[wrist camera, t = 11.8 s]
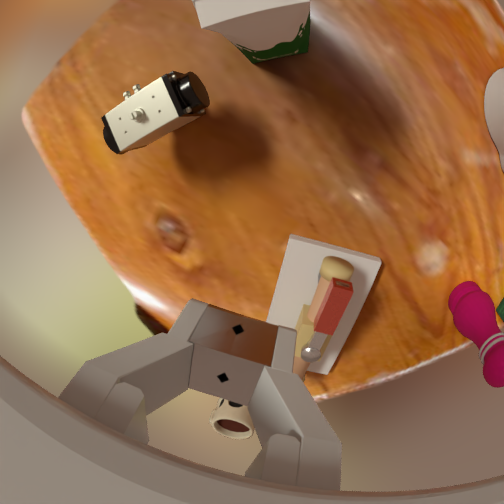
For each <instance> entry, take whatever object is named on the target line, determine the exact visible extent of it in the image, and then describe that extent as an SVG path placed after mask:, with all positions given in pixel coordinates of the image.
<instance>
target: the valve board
mask: <svg viewBox="0 0 504 504" xmlns="http://www.w3.org/2000/svg"><path fill="white" fill-rule="evenodd" d="M381 263H382V262H381V260H380V258H379V257H375V256H372V255H368V254H365V253H361V252H357V251H354V250H350V249H346V248H343V247H339V246H335V245H331V244H328V243H324V242H320V241H316V240H312V239H309V238H305V237H301V236H297V235H293V234H290V237H289V241H288V244H287V248H286V252H285V256H284V259H283V263H282V267H281V270H280V274H279V278H278V281H277V285H276V288H275V292H274V296H273V299H272V303H271V306H270V310H269V313H268V317H267V320H266V322H268V323H272V324H275V325H281V326H285V327H289V328H293V329H296V330H297V338H296V348H295V357H294V366H293V373H295V374H298V375H299V377H300V378H301V380H302V381H303V382H304V380H305V373H306V371H311V372H316V373H321V374H326V375H327V374H328V373H329V371H330V369H331V367H332V365H333V364H334V362H335V360H336V358H337V356H338V354H339V352H340V351H341V349H342V347H343V345H344V343H345V341H346V339H347V337H348V335H349V333H350V331H351V329H352V327H353V325H354V323H355V321H356V319H357V317H358V315H359V313H360V311H361V308H362V306H363V304H364V302H365V300H366V298H367V295H368V293H369V291H370V289H371V287H372V284H373V282H374V280H375V277H376V275H377V273H378V270H379V268H380V266H381ZM332 277H334V278H338V279H342V280H345V281H349V282H352V286H353V291H354V292H353V295H352V297H351V299H350V301H349V303H348V305H347V307H346V309H345V311H344V314H343V316H342V318H341V320H340V322H339V324H338V326H337V328H336V330H335V332H334V334H333V336H332V335H327V337H326V339H325V341H324V343H323V345H322V347H321V357H320V359H319V360H318V361H316V362H306V361H304V360H303V359H302V358H301V348H302V347H303V346H304V345H305V344H308V343H309V340H310V338H311V336H312V334H313V332H314V319H315V317H316V315H317V312H318V310H319V308H320V305H321V303H322V301H323V298H324V296H325V294H326V291H327V289H328V286H329V284H330V282H331V279H332Z"/></svg>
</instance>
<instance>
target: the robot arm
mask: <svg viewBox="0 0 504 504" xmlns="http://www.w3.org/2000/svg"><path fill="white" fill-rule="evenodd" d="M484 109H485V117H486V122H487V126H488V129H489V132H490V135H491V137H492V139H493V141H494V143H495V145H496V147H497V149H498V152H499V155H500V162H501V167H502V170H503V172H504V68H502V69H499V70H497V71H496V72H495V73H494V74H493V75H492V76H491V78H490V79H489V81H488V84H487V86H486V90H485V97H484ZM296 338H297V330H296V329H293V328H289V327H285V326H281V325H275V324H272V323H268V322H265V321H261V320H258V319H254V318H251V317H247V316H244V315H241V314H238V313H235V312H232V311H229V310H226V309H223V308H220V307H217V306H214V305H211V304H208V303H205V302H202V301H199V300H196V299H193V298H192V299H190V300H189V301H188V302H187V304H186V306H185V307H184V309H183V310H182V312H181V313H180V315H179V317H178V318H177V320H176V321H175V323H174V325H173V326H172V328H171V329H170V331H169V333H168V334H165V333H160V334H157V335H155V336H152V337H150V338H147V339H145V340H142V341H139V342H137V343H134V344H132V345H129V346H126V347H124V348H121V349H118V350H116V351H113V352H110V353H108V354H105V355H102V356H100V357H97V358H94V359H91V360H89V361H86V362H85V363H84V365H83V366H82V367H81V368H80V370H79V371H78V372H77V374H76V375H75V376H74V377H73V379H72V380H71V381H70V383H69V384H68V385H67V386H66V388H65V389H64V390H63V392H62V393H61V394H60V396H59V397H58V398H57V397H56V396H54V395H53V394H51V393H50V392H48V391H47V390H45V389H44V388H42V387H41V386H39V385H38V384H37V383H35V382H34V381H32V380H31V379H29V378H28V377H26V376H25V375H24V374H23V373H21V372H20V371H19V370H18V369H16V368H15V367H14V366H12V365H11V364H10V363H9V362H7V361H6V360H5V359H3V358H2V357H1V356H0V504H504V475H501V476H498V477H494V478H490V479H485V480H481V481H476V482H472V483H466V484H460V485H454V486H448V487H441V488H432V489H423V490H411V491H391V492H390V491H389V492H361V491H340V482H341V454H342V443H341V442H340V440H339V438H338V437H337V435H336V434H335V432H334V431H333V429H332V427H331V426H330V424H329V423H328V421H327V420H326V418H325V416H324V415H323V413H322V412H321V410H320V409H319V407H318V406H317V404H316V402H315V401H314V399H313V397H312V396H311V394H310V393H309V391H308V390H307V388H306V386H305V385H304V383H303V381H302V380H301V378H300V377H299V375H298V374H295V373H293V366H294V357H295V348H296ZM188 388H190V389H194V390H197V391H200V392H203V393H206V394H210V395H213V396H217V397H220V398H223V399H226V400H229V401H232V402H235V403H238V404H241V405H245V406H248V407H247V408H248V411H249V414H250V416H251V419H252V422H253V425H254V427H255V430H256V433H257V435H258V438H259V441H260V443H261V446H262V450H261V451H260V453H259V454H258V455H257V457H256V458H255V460H254V461H253V463H252V464H251V465H250V466H249V468H248V470H247V471H246V472H245V476H241V475H237V474H233V473H229V472H225V471H222V470H218V469H215V468H211V467H208V466H205V465H201V464H198V463H195V462H192V461H189V460H186V459H183V458H180V457H177V456H175V455H172V454H169V453H167V452H164V451H162V450H159V449H156V448H154V447H152V446H149V445H147V444H148V442H149V436H148V428H147V420H146V415H148V414H150V413H151V412H153V411H155V410H156V409H158V408H159V407H161V406H163V405H164V404H166V403H167V402H169V401H170V400H172V399H174V398H175V397H177V396H178V395H180V394H181V393H183V392H185V391H186V390H187V389H188Z"/></svg>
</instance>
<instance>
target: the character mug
mask: <svg viewBox="0 0 504 504" xmlns="http://www.w3.org/2000/svg"><path fill="white" fill-rule="evenodd" d="M247 407H248V406H245V405H241V404H238V403H235V402H232V401H229V400H226V399H223V398H219V400H218V404H217V407H216V409H214V410H213V411H212V413H211V416H210V419H209V423H211V424H212V427H213V429H214V430H215V431H216V432H218V433H219V434H221V435H223V436H226V437H228V438H233V439H247V438H250V437H251V436H252V435H253V433H254V429H255V427H254V425H253V422H252V419H251V416H250V414H249V411H248V408H247Z"/></svg>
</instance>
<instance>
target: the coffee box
mask: <svg viewBox="0 0 504 504" xmlns="http://www.w3.org/2000/svg"><path fill="white" fill-rule="evenodd" d="M496 311H497V313H498V314H499V316H500V317H501V319H502V320H503V322H504V298H503V300H502V301H501V302H500V304H499V306H498V308H497V309H496Z"/></svg>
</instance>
